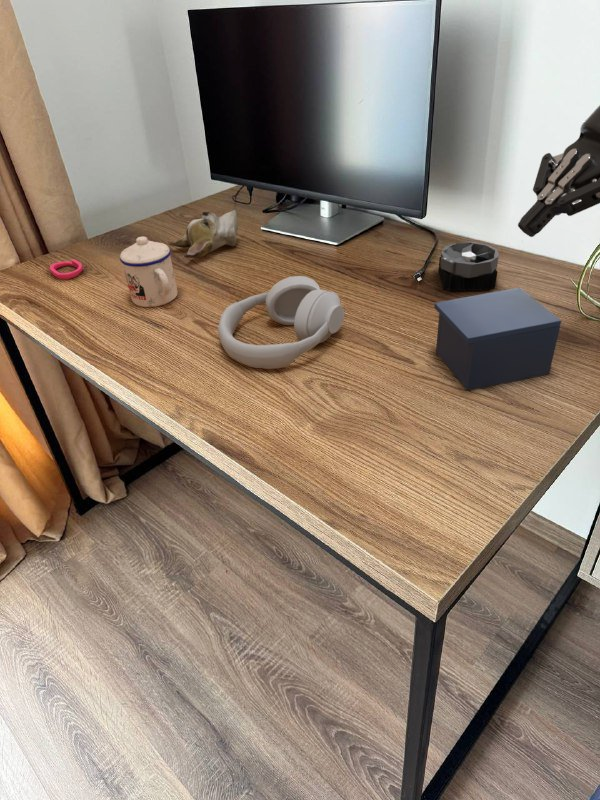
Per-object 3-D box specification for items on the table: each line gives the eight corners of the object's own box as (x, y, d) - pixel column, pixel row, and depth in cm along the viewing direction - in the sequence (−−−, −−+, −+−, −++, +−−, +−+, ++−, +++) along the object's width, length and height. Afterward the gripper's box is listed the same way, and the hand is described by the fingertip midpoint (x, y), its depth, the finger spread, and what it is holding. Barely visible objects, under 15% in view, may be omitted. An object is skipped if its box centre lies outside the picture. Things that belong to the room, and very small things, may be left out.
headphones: (303, 296, 106) (207, 346, 99) (295, 257, 101) (193, 307, 94) (367, 337, 93) (261, 397, 87) (361, 295, 88) (249, 355, 82)
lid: (467, 344, 77) (468, 338, 76) (433, 307, 85) (434, 302, 84) (560, 326, 79) (561, 320, 78) (518, 292, 87) (519, 287, 86)
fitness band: (89, 273, 122) (87, 266, 121) (62, 282, 119) (60, 275, 118) (72, 262, 127) (70, 256, 126) (46, 271, 124) (44, 264, 123)
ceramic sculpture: (245, 208, 121) (178, 230, 116) (252, 248, 127) (188, 270, 121) (223, 196, 129) (160, 216, 124) (231, 234, 134) (170, 254, 129)
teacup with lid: (123, 296, 112) (107, 237, 105) (166, 282, 116) (154, 224, 109) (149, 319, 104) (134, 257, 97) (194, 303, 108) (183, 242, 101)
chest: (467, 390, 81) (473, 342, 77) (435, 352, 90) (439, 306, 85) (549, 374, 83) (560, 326, 79) (510, 337, 92) (518, 292, 87)
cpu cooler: (493, 239, 109) (505, 262, 100) (489, 268, 112) (500, 292, 104) (436, 241, 109) (443, 264, 101) (434, 270, 113) (441, 294, 105)
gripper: (689, 148, 66) (570, 267, 72) (610, 124, 76) (511, 230, 82) (663, 102, 62) (538, 233, 67) (583, 83, 72) (481, 198, 78)
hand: (524, 231), depth 75 cm, fingers closed
